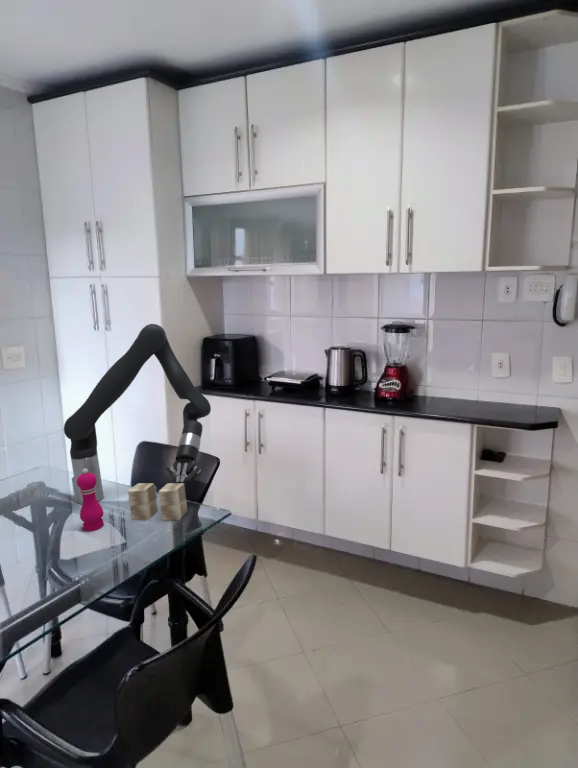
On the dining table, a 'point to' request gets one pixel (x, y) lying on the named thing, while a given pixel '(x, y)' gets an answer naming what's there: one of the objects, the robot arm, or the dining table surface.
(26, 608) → the dining table surface
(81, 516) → the pepper mill
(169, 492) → the post right
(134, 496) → the post left
